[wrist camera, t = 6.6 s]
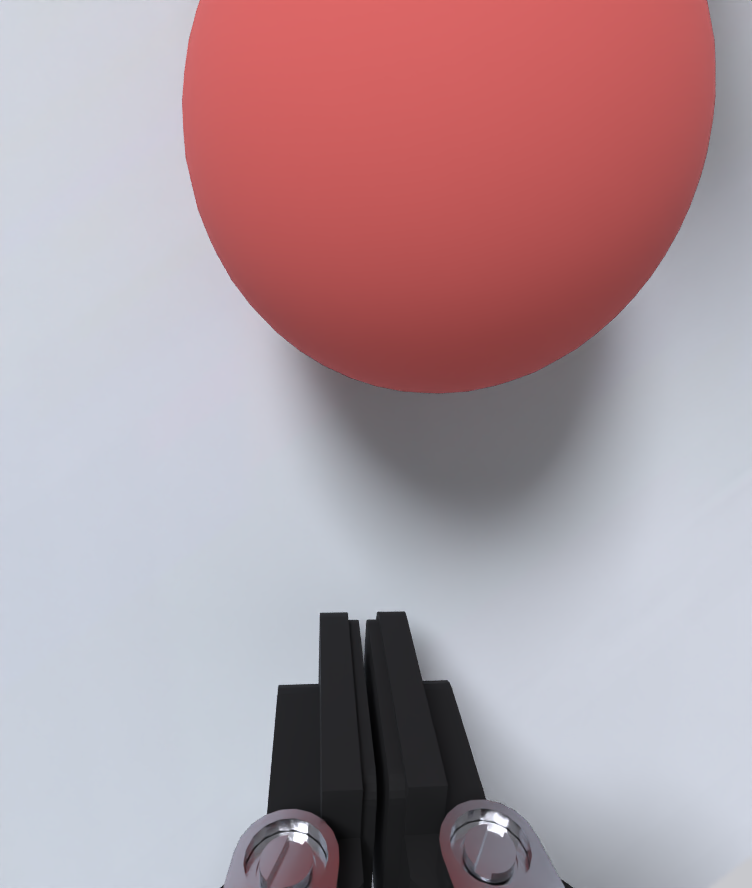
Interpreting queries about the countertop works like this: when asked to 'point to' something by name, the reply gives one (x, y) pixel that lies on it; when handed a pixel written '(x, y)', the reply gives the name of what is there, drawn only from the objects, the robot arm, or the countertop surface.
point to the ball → (445, 171)
